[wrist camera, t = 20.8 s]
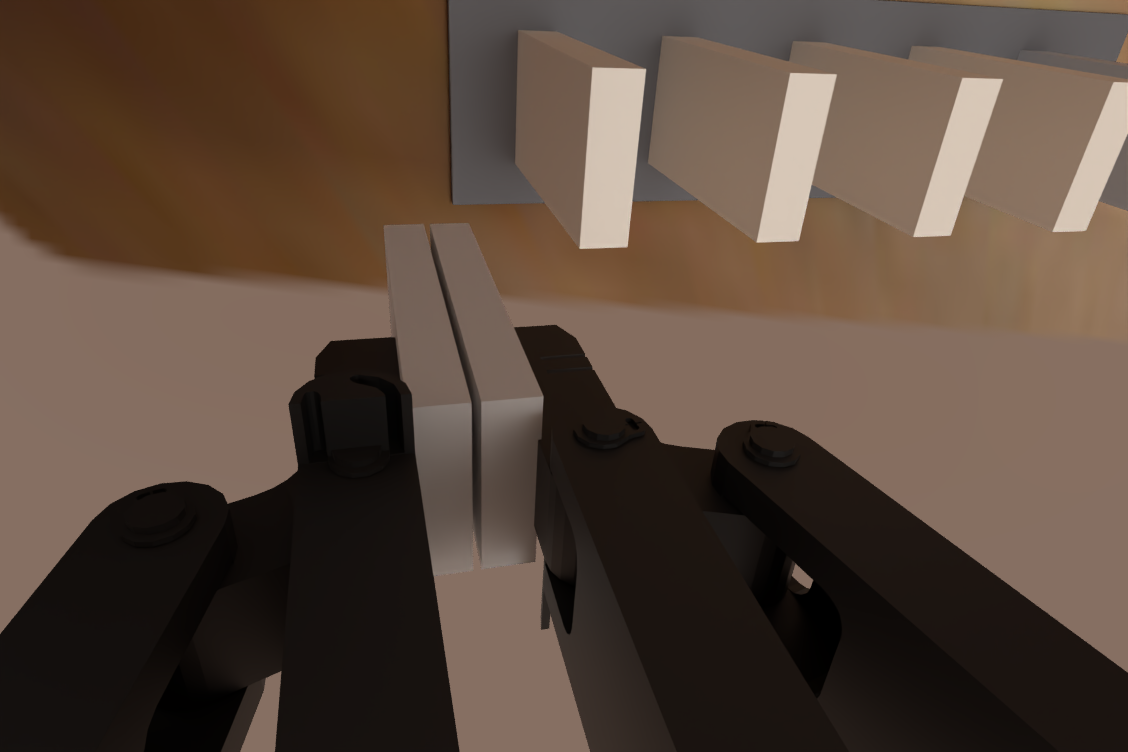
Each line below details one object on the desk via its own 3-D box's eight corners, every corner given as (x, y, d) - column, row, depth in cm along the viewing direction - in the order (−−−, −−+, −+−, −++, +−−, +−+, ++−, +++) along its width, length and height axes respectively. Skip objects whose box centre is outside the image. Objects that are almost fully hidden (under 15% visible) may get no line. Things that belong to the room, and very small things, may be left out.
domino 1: (515, 163, 36) (579, 248, 26) (518, 29, 33) (592, 67, 23) (550, 163, 36) (627, 247, 26) (556, 31, 33) (646, 69, 23)
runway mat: (451, 201, 36) (453, 204, 36) (446, -25, 31) (448, -25, 31) (1055, 190, 46) (1062, 193, 45) (1126, 14, 41) (1134, 15, 40)
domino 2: (647, 163, 37) (756, 242, 27) (662, 35, 34) (790, 73, 24) (680, 162, 38) (798, 241, 28) (697, 37, 35) (836, 74, 25)
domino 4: (880, 161, 41) (1052, 232, 31) (911, 45, 38) (1113, 82, 28) (907, 161, 41) (1085, 230, 31) (940, 47, 38) (1149, 82, 28)
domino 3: (769, 162, 39) (913, 237, 29) (792, 40, 36) (962, 77, 26) (798, 162, 40) (950, 235, 30) (824, 42, 37) (1003, 78, 27)
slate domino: (982, 161, 43) (1176, 227, 33) (1020, 49, 40) (1247, 85, 30) (1007, 161, 43) (1206, 226, 33) (1047, 51, 40) (1279, 86, 30)
